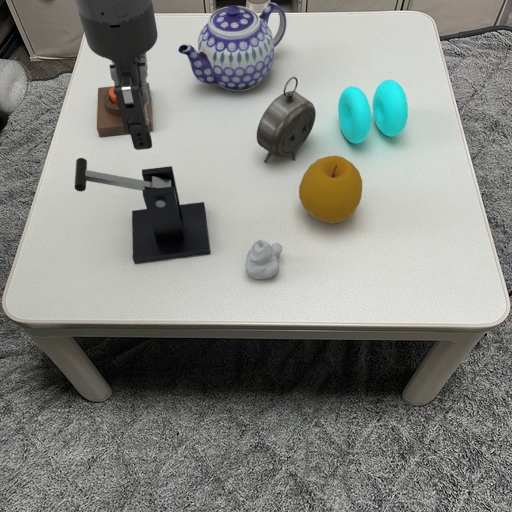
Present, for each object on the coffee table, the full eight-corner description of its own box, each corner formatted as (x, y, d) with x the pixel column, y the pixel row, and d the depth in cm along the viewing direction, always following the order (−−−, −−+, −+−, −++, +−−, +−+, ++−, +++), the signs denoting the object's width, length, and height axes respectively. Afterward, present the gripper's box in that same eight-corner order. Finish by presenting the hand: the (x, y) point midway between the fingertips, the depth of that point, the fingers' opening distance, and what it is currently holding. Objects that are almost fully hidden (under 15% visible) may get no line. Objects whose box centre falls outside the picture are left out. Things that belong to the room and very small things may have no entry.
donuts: (402, 146, 95) (416, 102, 87) (351, 156, 94) (360, 112, 85) (382, 111, 100) (392, 66, 92) (333, 120, 99) (339, 76, 91)
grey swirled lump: (236, 268, 80) (234, 238, 73) (268, 246, 82) (269, 214, 76) (259, 291, 78) (259, 262, 71) (291, 268, 80) (294, 237, 73)
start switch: (99, 137, 97) (93, 120, 94) (100, 96, 104) (95, 79, 101) (152, 131, 98) (148, 114, 95) (150, 91, 105) (146, 74, 101)
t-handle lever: (73, 193, 70) (75, 181, 68) (74, 166, 72) (77, 154, 71) (167, 208, 75) (172, 197, 73) (165, 183, 78) (170, 172, 76)
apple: (291, 230, 84) (295, 181, 74) (304, 187, 89) (309, 136, 80) (351, 243, 83) (362, 194, 73) (360, 198, 88) (372, 147, 78)
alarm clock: (296, 132, 97) (301, 56, 84) (317, 146, 95) (326, 70, 82) (255, 161, 93) (253, 86, 80) (276, 177, 91) (278, 102, 77)
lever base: (134, 264, 81) (115, 212, 70) (133, 215, 86) (115, 160, 76) (210, 254, 82) (202, 201, 71) (204, 206, 87) (196, 150, 77)
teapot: (265, 38, 115) (265, -31, 102) (307, 72, 107) (313, 3, 95) (166, 79, 107) (153, 10, 94) (205, 120, 100) (196, 50, 87)
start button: (111, 106, 97) (108, 98, 95) (111, 92, 99) (109, 85, 97) (132, 104, 97) (130, 96, 95) (132, 90, 99) (130, 83, 98)
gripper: (79, -34, 56) (113, 91, 69) (72, 42, 48) (112, 167, 61) (149, -39, 56) (169, 86, 70) (153, 35, 48) (175, 160, 62)
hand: (142, 124), depth 65 cm, fingers open, 8 cm apart
